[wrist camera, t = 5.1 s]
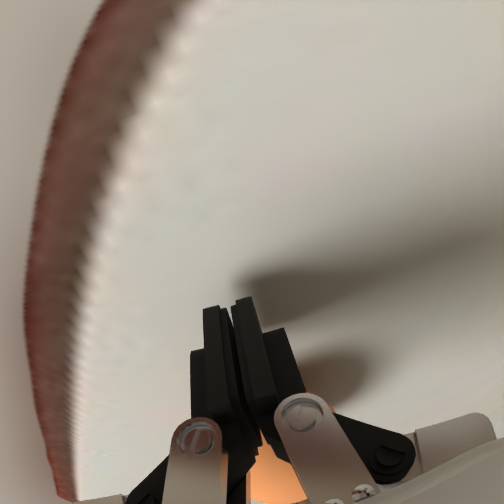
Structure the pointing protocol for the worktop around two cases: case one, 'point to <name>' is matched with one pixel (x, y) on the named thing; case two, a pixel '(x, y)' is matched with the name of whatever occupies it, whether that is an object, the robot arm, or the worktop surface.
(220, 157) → the worktop surface
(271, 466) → the ball
